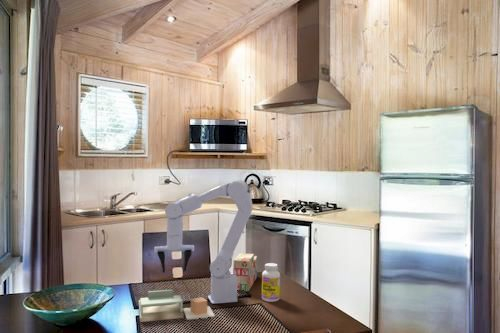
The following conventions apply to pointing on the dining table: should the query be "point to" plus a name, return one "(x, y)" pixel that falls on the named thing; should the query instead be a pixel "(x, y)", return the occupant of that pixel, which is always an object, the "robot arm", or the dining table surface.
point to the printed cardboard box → (245, 270)
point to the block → (198, 306)
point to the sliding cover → (161, 299)
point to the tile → (191, 315)
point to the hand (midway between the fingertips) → (174, 271)
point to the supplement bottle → (271, 283)
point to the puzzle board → (160, 312)
